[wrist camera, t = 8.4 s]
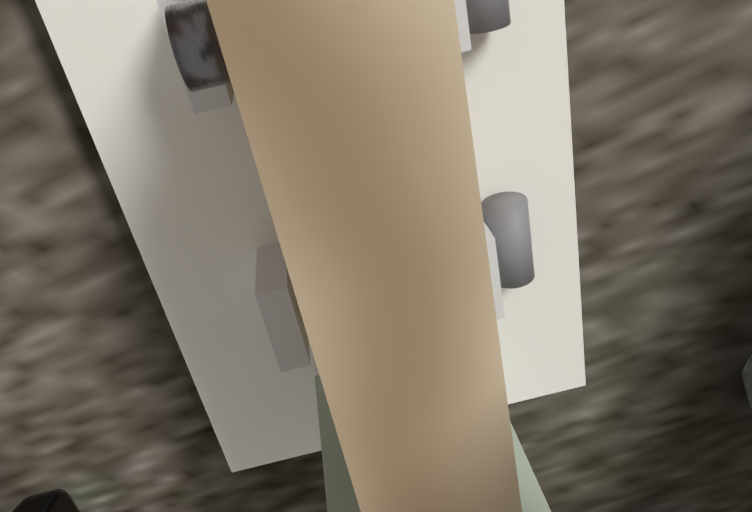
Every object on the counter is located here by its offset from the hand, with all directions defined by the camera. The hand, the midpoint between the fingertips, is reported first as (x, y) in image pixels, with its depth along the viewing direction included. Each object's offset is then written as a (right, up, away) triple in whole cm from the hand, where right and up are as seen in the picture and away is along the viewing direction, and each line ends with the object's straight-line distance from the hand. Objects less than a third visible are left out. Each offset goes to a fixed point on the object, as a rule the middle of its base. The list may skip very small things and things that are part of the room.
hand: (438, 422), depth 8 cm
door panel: (-2, +5, +9) cm, 11 cm away
